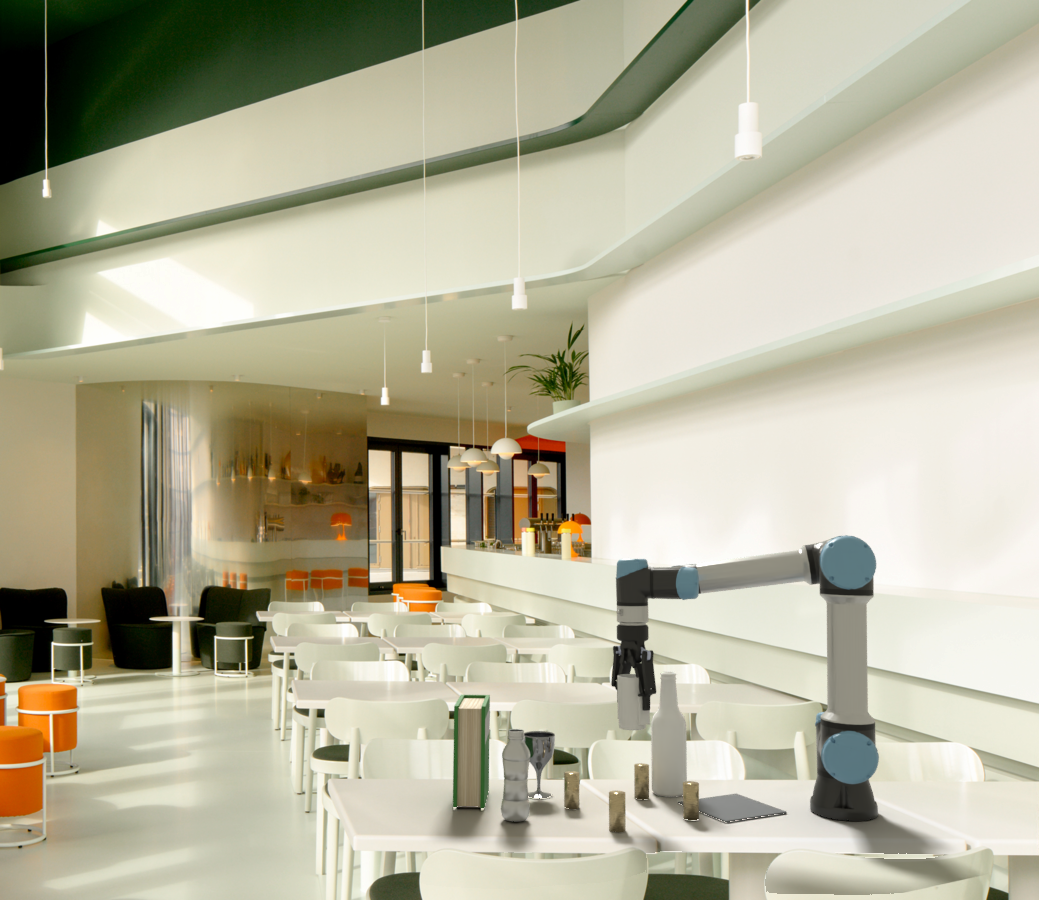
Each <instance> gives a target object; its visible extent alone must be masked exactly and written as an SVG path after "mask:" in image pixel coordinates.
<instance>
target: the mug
mask: <svg viewBox="0 0 1039 900" xmlns="http://www.w3.org/2000/svg"><path fill="white" fill-rule="evenodd" d="M616 681H617V685H618V703H617V719H618V718H619V719H618V728H619V729H621V730H625V731H641V730H645V729H646V726H647V725H638V694H640V691H639V678H636V674H635V673H630V674H621V675H618V676H617V680H616Z"/></svg>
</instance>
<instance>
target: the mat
mask: <svg viewBox="0 0 1039 900" xmlns="http://www.w3.org/2000/svg"><path fill="white" fill-rule="evenodd" d="M678 803H680V804H682V805H683V800H682V801H681V800H680V801H677V804H678ZM682 805H681V806H682ZM699 811H700V812H702V813H705V814H707V815H709V816H712V817H714V818H717V819H720V820H722V821H725V822H730V821H735V820H742V819H747V818H755V817H761V816H768V815H774V814H782V815H784V814H783V813H788V812H787V810H784V809H780V808H777V807H776V806H775V807H774V806H772V805H769V804H767V803H764V802H760V801H759V800H756V799H752V798H750V797H747V796H744V795H741V794H739V793H731V794H730V793H729V794H724V795H715V796H709V797H702V798H699ZM709 816H708V817H709ZM714 818H713V819H714Z"/></svg>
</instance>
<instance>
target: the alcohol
mask: <svg viewBox="0 0 1039 900" xmlns="http://www.w3.org/2000/svg"><path fill="white" fill-rule="evenodd" d="M676 676H677V673H676V672H675V671H674V672H673V671H662V672H661V673H660V687H659V688H660V691H659V705H658V709H657V710H656V711H655V713H653V716H652V718H651V721H650V725H651V726H650V727H651V729H650V730H651V732H650V733H651V735H650V737H651V738H650V739H651V741H650V742H651V750H650V751H651V791H652V792H653V794H654V795H656V796H658V795H659V796H658V797H662V796H665V797H664V798H677V797H676V796H681V797H683V796H682V795H683V782H685V781H688V772H687V771H688V770H687V769H688V768H687V767H688V766H687V765H688V764H687V763H688V762H687V760H688V759H687V758H688V757H687V755H688V754H687V722H686V718H685V716H684V714H683V713H682V712H681V710H680V708H679V705H678V704H679V703H678V692H677V677H676Z"/></svg>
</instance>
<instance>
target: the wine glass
mask: <svg viewBox="0 0 1039 900" xmlns="http://www.w3.org/2000/svg"><path fill="white" fill-rule="evenodd" d="M524 736H525V739H523V741H524V743H525V744H526V746H527V747H528V749H529V751H530V762H529V764H531V766H532V767H533V769H534V770H535V774H536V791H532V792H528V796H529V797H532V798H539V799H540V798H547V797H549V796H551V794H552V793H549V792H545V791H542V790H541V779H542V773H543V771H544V768H545V767H546V766H547V765H548V764H549V762H550V761H551V759H552V758H553V755H554V751H555V745H556V743H555V741H556V735H555V733H554V732H552V731H545V730H533V731H526V732H525V731H524Z"/></svg>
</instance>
